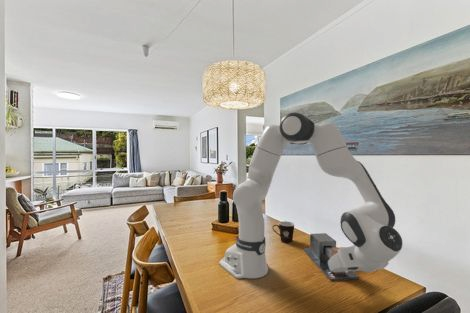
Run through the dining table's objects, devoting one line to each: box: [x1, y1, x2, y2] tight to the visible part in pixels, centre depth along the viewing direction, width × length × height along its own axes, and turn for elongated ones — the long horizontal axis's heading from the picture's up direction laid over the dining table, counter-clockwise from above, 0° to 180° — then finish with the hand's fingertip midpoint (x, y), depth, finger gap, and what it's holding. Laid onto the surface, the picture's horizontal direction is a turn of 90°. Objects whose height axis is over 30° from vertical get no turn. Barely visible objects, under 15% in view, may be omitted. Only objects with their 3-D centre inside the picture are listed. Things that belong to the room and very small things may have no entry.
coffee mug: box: [271, 220, 295, 244], centre depth 131 cm, size 12×9×10 cm
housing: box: [302, 232, 360, 282], centre depth 105 cm, size 28×12×10 cm, turn 5°
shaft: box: [324, 246, 347, 273], centre depth 101 cm, size 17×6×9 cm, turn 5°
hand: (348, 270), depth 88 cm, fingers closed
